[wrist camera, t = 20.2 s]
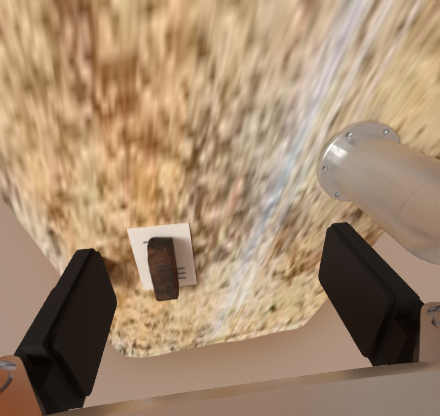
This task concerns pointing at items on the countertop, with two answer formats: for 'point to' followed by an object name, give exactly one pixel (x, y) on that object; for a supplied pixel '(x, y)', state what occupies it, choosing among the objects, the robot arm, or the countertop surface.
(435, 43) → the countertop surface
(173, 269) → the brick
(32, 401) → the robot arm
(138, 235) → the letter
